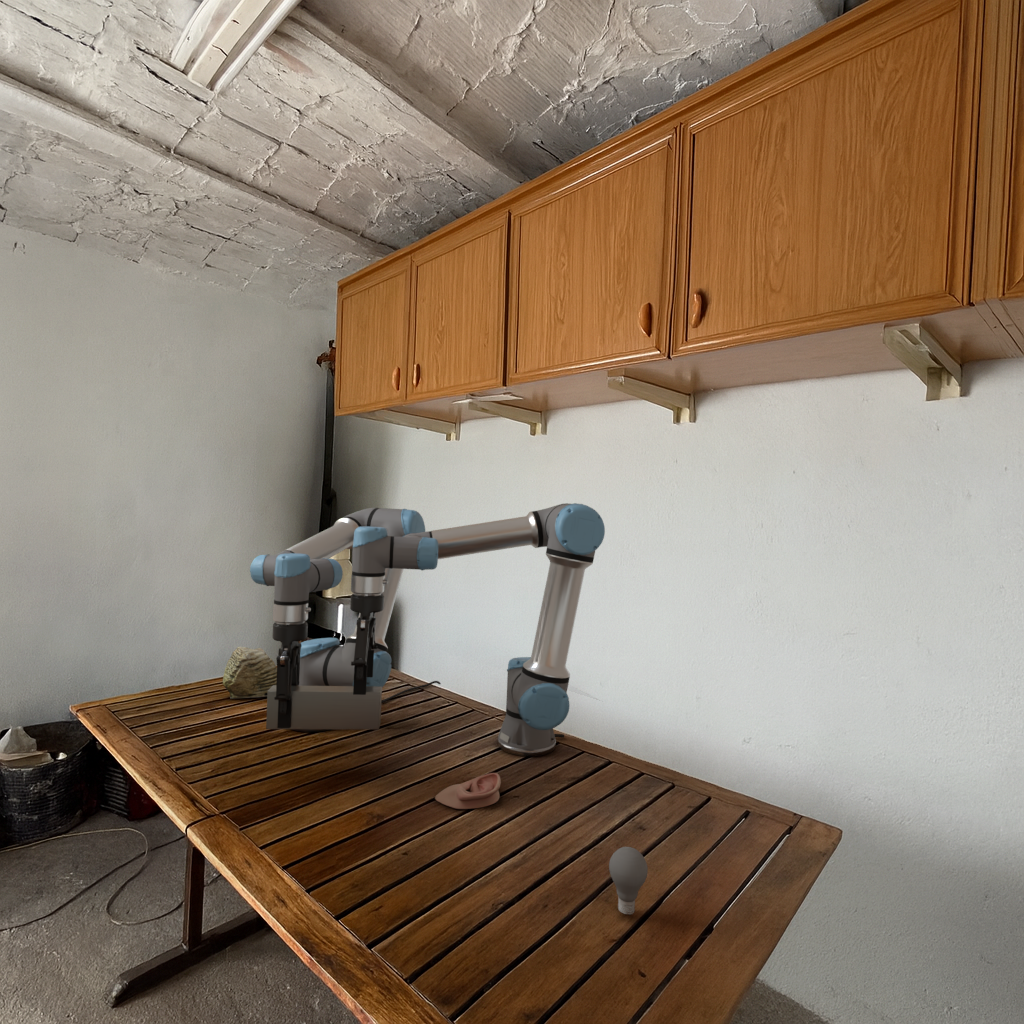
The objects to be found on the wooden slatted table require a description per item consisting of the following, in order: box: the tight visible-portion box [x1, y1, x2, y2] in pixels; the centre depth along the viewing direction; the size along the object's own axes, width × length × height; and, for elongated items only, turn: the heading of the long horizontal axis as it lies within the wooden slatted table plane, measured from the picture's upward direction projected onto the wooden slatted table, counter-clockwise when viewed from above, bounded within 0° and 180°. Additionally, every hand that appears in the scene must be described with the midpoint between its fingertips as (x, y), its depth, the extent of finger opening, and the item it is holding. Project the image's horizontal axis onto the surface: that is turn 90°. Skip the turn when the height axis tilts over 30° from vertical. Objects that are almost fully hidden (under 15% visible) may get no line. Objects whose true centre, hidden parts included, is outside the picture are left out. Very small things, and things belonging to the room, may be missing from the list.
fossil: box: [222, 646, 277, 699], centre depth 198 cm, size 9×18×15 cm, turn 132°
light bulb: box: [608, 846, 649, 915], centre depth 100 cm, size 6×6×10 cm
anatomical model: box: [434, 772, 502, 810], centre depth 136 cm, size 13×4×12 cm
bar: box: [265, 685, 383, 731], centre depth 145 cm, size 25×4×9 cm, turn 96°
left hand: (286, 723), depth 145 cm, fingers closed on bar, 4 cm apart
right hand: (363, 685), depth 146 cm, fingers open, 13 cm apart
